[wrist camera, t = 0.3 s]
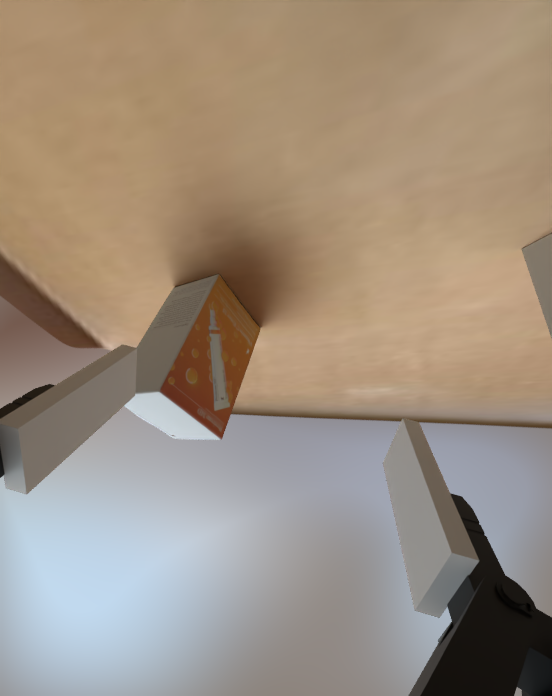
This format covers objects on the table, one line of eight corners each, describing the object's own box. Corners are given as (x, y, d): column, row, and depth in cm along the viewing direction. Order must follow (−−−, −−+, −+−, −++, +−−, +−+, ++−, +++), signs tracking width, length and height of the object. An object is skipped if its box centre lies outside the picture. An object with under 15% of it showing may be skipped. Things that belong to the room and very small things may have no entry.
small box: (262, 328, 35) (223, 441, 28) (217, 336, 39) (171, 440, 31) (219, 271, 30) (157, 392, 23) (171, 286, 33) (103, 396, 26)
